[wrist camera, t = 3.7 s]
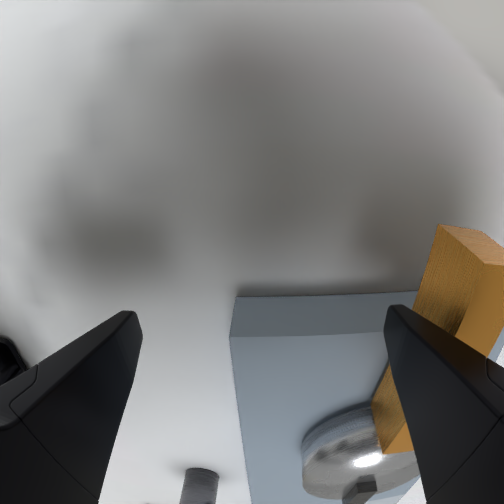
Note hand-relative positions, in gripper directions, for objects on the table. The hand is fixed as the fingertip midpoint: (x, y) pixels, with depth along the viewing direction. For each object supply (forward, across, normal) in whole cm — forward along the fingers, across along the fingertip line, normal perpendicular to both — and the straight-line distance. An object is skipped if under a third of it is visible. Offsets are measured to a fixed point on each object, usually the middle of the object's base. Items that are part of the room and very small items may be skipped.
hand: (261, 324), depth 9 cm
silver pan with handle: (+1, -5, +5) cm, 7 cm away
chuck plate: (+4, -5, +14) cm, 16 cm away
